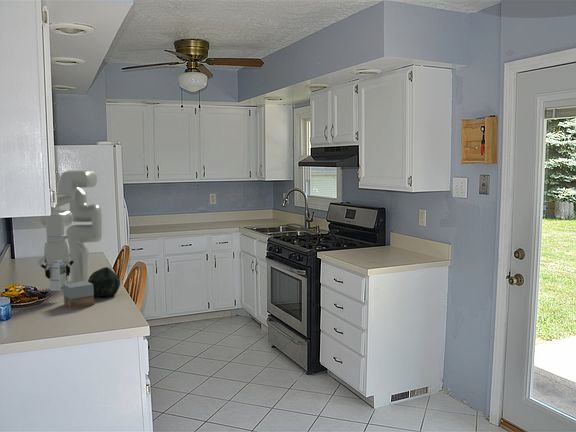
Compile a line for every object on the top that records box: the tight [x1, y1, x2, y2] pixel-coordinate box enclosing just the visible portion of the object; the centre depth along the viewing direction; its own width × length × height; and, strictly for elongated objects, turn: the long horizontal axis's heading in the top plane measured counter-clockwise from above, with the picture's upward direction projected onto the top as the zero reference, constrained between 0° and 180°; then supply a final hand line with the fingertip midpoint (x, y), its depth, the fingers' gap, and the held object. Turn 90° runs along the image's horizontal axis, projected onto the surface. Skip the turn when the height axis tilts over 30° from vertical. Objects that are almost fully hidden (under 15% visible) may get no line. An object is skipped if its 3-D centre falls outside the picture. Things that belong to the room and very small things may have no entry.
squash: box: [88, 266, 121, 298], centre depth 254 cm, size 14×15×15 cm
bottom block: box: [63, 294, 95, 310], centre depth 238 cm, size 10×10×5 cm
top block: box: [62, 281, 94, 299], centre depth 237 cm, size 10×10×5 cm
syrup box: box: [48, 259, 69, 292], centre depth 244 cm, size 6×6×14 cm
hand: (58, 276), depth 244 cm, fingers closed on syrup box, 8 cm apart
